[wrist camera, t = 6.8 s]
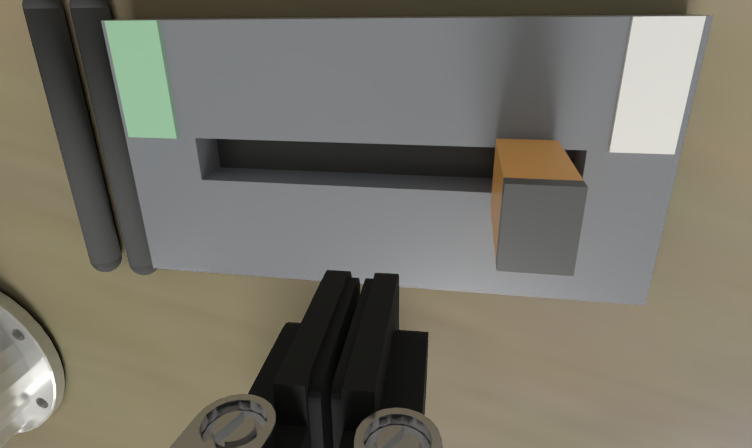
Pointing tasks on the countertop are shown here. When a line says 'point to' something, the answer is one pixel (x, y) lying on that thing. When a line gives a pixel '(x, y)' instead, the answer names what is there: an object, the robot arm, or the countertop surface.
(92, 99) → the rods
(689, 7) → the countertop surface
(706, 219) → the countertop surface
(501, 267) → the toggle
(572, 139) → the panel
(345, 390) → the robot arm
